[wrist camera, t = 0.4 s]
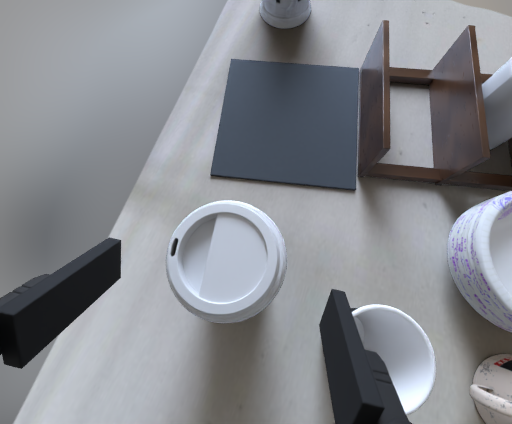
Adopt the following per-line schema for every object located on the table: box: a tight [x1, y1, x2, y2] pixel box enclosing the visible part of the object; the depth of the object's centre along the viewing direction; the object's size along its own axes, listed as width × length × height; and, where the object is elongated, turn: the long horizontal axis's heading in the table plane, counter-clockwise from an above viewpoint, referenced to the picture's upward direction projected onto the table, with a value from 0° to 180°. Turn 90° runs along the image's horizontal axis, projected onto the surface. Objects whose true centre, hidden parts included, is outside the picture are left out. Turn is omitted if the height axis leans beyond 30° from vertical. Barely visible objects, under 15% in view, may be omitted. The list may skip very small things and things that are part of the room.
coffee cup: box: [166, 200, 287, 323], centre depth 26 cm, size 10×10×15 cm
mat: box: [210, 59, 359, 190], centre depth 38 cm, size 20×20×1 cm
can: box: [482, 58, 512, 149], centre depth 31 cm, size 8×8×12 cm
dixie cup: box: [350, 305, 436, 416], centre depth 25 cm, size 8×8×11 cm
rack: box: [358, 20, 512, 191], centre depth 33 cm, size 18×21×8 cm
